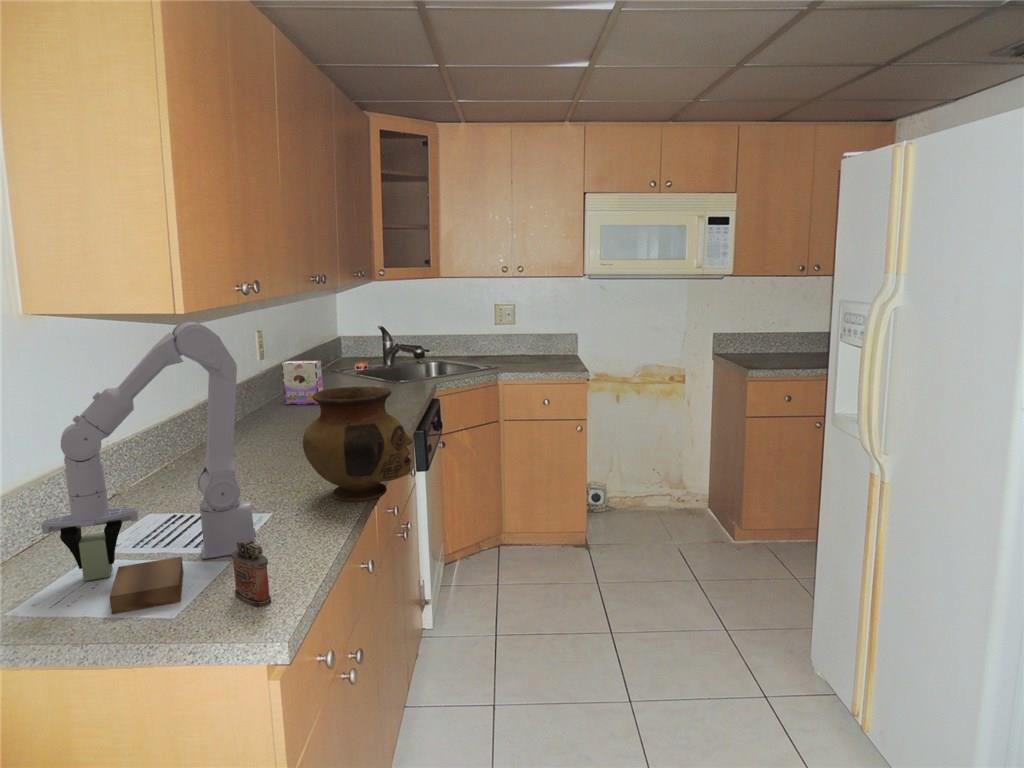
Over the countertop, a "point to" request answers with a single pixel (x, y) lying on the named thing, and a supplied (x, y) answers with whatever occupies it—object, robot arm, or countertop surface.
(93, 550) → the block
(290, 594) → the countertop surface
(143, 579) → the plinth
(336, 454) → the pot
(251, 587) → the lighter
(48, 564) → the countertop surface
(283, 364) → the candy box
